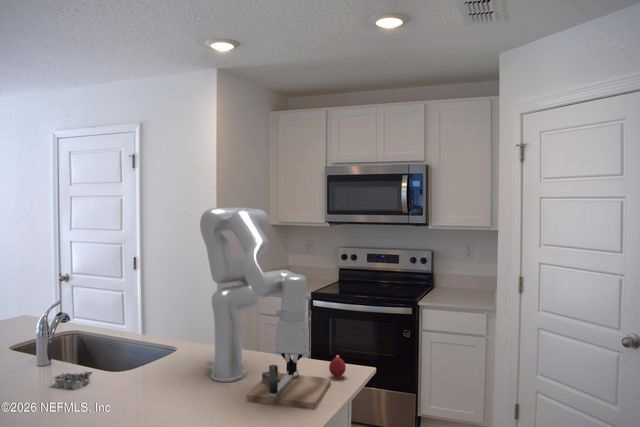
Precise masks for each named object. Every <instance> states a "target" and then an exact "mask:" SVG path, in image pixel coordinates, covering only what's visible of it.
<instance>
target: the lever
mask: <svg viewBox="0 0 640 427" xmlns="http://www.w3.org/2000/svg"><path fill="white" fill-rule="evenodd" d="M278 368H279V366H278V364H271V365H269V366H268V369H269V397H277V396H278V395H279V394H280V393H281V392H282V390H283V389H284V388H285V387H286V386H287V385H288V384H289V383H290V382H291V381H292V380H293V379H294V378H297V377H299V375H300V371H299V370H298V369H297V371H296V372H294V375H288V371H286V372H285V374H286V376H285V377H284V378H283V379H282V380H281V381H280V382H279V383H278V370H279V369H278Z"/></svg>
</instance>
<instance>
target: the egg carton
mask: <svg viewBox="0 0 640 427" xmlns="http://www.w3.org/2000/svg"><path fill="white" fill-rule="evenodd" d="M92 374H93V372H92V371H84V373H83V372H81V373H77V372H75V373H70V372H66V373H64V372H63V373H62V374H59V375H56V376H52V378H53V379H54V380H55V383H54V384H55V386H54V387H55V388H56V389H57V388H62V387H63V389H65V390H67V389H70V388H71V389H72V390H75V391H76V390H80V389H83V388H84V387H85V386H87V385H90V384H91V375H92ZM83 386H84V387H83Z"/></svg>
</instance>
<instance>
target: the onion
mask: <svg viewBox="0 0 640 427" xmlns="http://www.w3.org/2000/svg"><path fill="white" fill-rule="evenodd" d="M346 368H347V365H346V363H345V361H344V360H343V359H342V358H340V355H339V354H337V355H336V356H335V357H334V358H333V359H332V360H331V361H330V363H329V366H328V369H329V372H330V374H331V375H332V376H333V377H334V378H336V379H339V378H340V377H341V376H343V374H344V373H345V372H346Z"/></svg>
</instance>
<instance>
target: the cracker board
mask: <svg viewBox="0 0 640 427" xmlns="http://www.w3.org/2000/svg"><path fill="white" fill-rule="evenodd" d="M285 376H286V373H283V372H280V371H278V383H279V382H280V381H281V380H282V379H283V378H284V377H285ZM331 383H332V379H331V377H321V376H311V375H303V374H299V377H297V378H294V379H293V380H292V381H291V382H290V383H289V384H288V385H287V386H286V387H285V388H284V389H283V390H282V392H281V393H280V394H279V395H278V396H277V397H269V371H263V372H262V373H261V380H260V381H259V383H257V384H256V386H254V387H253V389H252V390H251V391H250V392H248V394H247V395H246V401H247V402H249V403H259V404H266V405H273V406H274V405H275V406H281V407H291V408H297V409H298V408H299V409H307V410H316V409H317V407H318V406H319V405H320V403H321V401H322V400H323V397H324V396H325V394H326V393H327V391H328V390H329V388H330V386H331V385H332V384H331Z"/></svg>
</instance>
